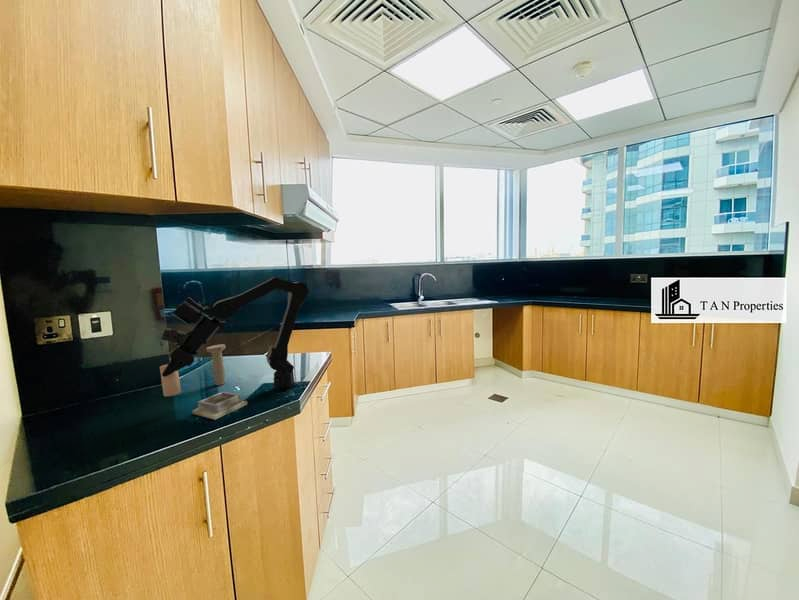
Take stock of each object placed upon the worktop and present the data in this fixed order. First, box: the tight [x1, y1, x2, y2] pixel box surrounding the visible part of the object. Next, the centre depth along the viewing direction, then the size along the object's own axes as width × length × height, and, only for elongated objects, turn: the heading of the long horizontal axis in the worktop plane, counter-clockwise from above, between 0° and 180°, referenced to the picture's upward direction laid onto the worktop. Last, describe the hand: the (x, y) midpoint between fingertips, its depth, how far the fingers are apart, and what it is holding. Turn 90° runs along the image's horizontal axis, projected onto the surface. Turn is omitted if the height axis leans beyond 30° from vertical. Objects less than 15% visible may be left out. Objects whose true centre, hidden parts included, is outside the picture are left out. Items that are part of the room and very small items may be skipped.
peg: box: [159, 363, 182, 397], centre depth 101 cm, size 4×4×9 cm
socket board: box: [191, 391, 248, 420], centre depth 103 cm, size 11×11×4 cm
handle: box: [206, 343, 226, 386], centre depth 125 cm, size 5×6×15 cm
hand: (164, 373), depth 100 cm, fingers closed on peg, 4 cm apart
